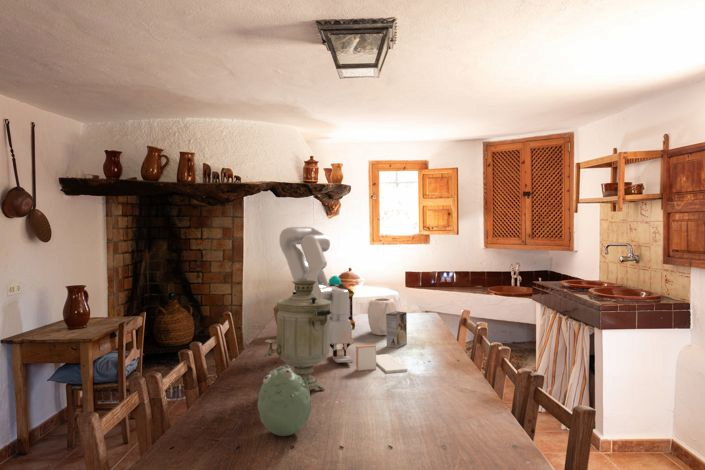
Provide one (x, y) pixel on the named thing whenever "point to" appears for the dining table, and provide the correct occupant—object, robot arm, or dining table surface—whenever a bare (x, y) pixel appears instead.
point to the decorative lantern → (337, 283)
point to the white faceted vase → (379, 314)
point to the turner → (341, 356)
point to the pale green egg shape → (284, 401)
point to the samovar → (302, 331)
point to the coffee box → (396, 329)
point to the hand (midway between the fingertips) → (339, 357)
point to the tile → (365, 357)
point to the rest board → (389, 364)
